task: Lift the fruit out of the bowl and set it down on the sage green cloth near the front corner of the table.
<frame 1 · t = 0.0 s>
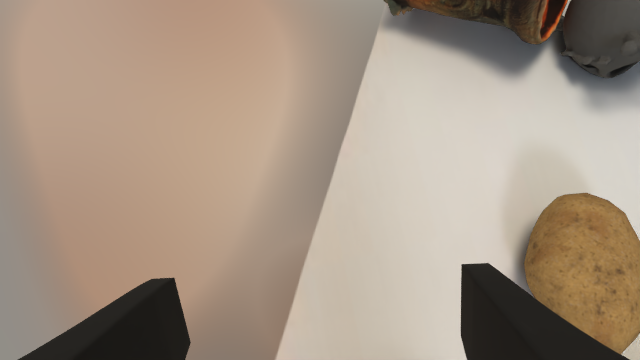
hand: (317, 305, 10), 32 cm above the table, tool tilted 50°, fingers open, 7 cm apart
potato: (565, 286, 40), on the table
dark grey rounded piece: (570, 49, 48), point 5 cm above the table, touching vessel
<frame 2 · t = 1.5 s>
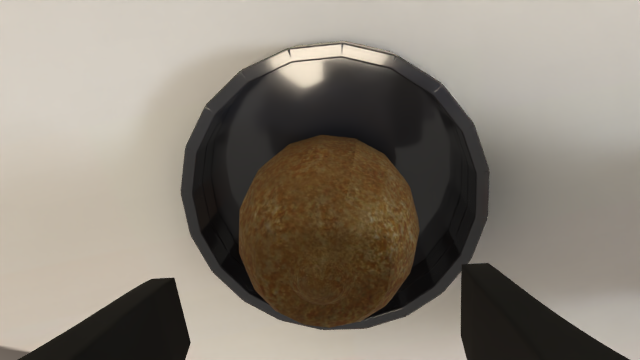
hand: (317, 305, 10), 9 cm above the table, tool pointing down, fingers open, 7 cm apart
fruit: (334, 182, 19), resting on bowl
bowl: (334, 180, 19), on the table
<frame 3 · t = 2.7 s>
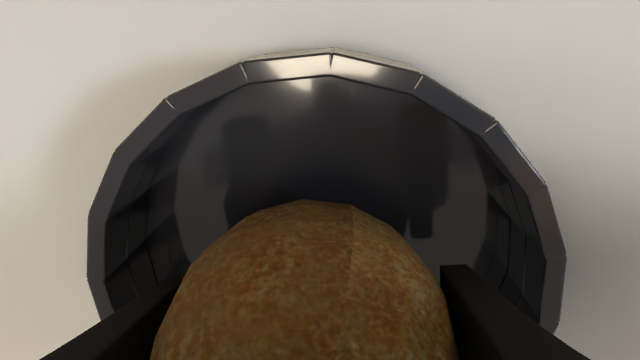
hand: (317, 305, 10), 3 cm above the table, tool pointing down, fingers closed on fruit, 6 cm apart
fruit: (322, 251, 13), resting on bowl, touching gripper
bowl: (323, 246, 13), on the table
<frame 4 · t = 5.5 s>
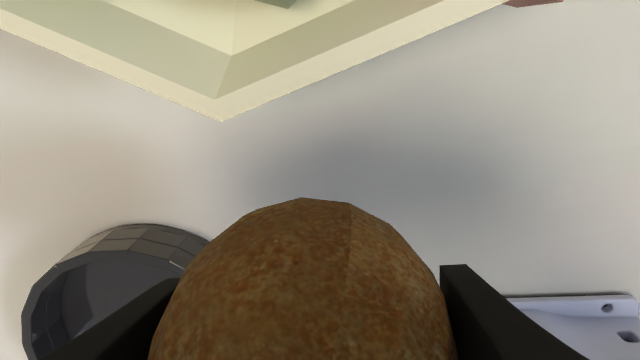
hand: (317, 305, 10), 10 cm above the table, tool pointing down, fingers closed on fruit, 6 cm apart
fruit: (322, 250, 13), point 7 cm above the table, touching gripper
bowl: (163, 320, 23), on the table
when the fingers open (3 cm above the table, at t = 10.6 s): fruit stays where it is, resting on cloth.
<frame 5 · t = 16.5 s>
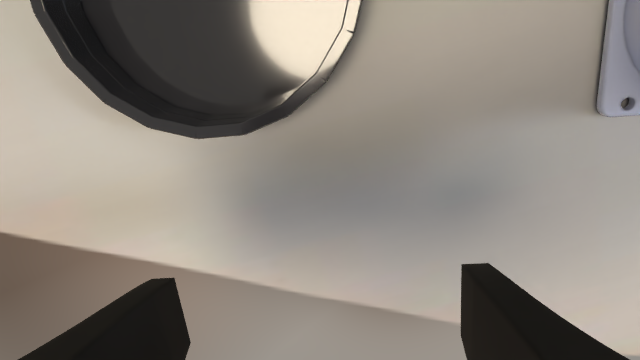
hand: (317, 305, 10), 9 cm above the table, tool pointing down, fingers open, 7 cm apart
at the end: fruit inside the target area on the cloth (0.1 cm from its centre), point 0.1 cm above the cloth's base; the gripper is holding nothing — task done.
